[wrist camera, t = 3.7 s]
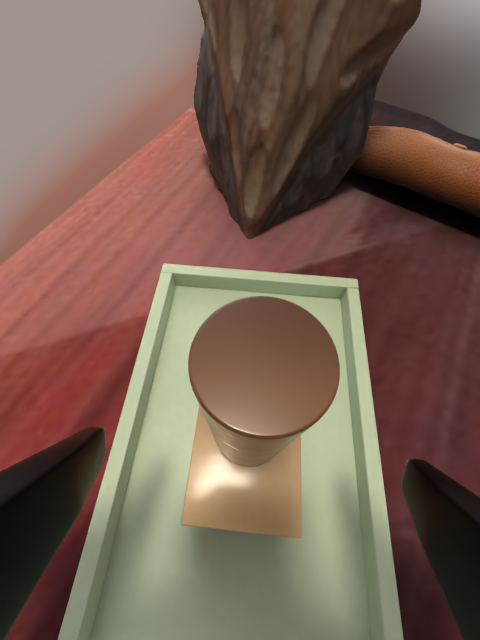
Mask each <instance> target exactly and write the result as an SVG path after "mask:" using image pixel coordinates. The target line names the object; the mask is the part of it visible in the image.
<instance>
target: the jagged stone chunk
mask: <svg viewBox="0 0 480 640" xmlns="http://www.w3.org/2000/svg"><path fill="white" fill-rule="evenodd" d="M198 1H199V4H200V8H201V13H202V17H203V19H204V24H205V30H204V33H203V35H202V37H201V48H200V55H199V60H198V63H197V65H198V67H197V80H196V86H195V91H194V92H195V93H194V107H195V111H196V116H197V119H198V123H199V128H200V132H201V135H202V138H203V141H204V144H205V147H206V150H207V154H208V157H209V161H210V164H209V169H210V172H211V174H212V175H213V177H214V178H215V179H217V181H218V189H219V190H220V191H221V192H222V193H223V194H224V197H225V199H226V200H227V202H228V203H229V212H230V214H231V216H232V217H233V219H234V220H235V221H236V222H237V223H238V224H239V225H240V227H241V229H242V231H243V232H244V234H245V236H246V237H247V238H252V237H254V236H255V235H257V234H258V233H260V232H262V231H264V230H266V229H268V228H269V227H271V226H273V225H275V224H276V223H279V222H282V221H284V220H286V219H287V218H288V217H290V216H291V215H292V214H294V213H296V212H299V211H303V210H306V209H308V208H309V207H310V206H311V205H312V203H313V202H315V201H317V200H322V199H325V198H328V197H330V196H331V195H333V194H334V192H335V190H336V189H337V187H338V183H339V182H340V181H341V179H342V178H343V177H344V176H345V174H346V173H347V172H348V170H349V169H350V168H351V166H352V165H353V164H354V162H355V161H356V160H357V159H358V158H359V156H360V154H361V152H362V151H363V149H364V146H365V141H366V137H367V132H368V129H369V124H370V120H371V115H372V110H373V104H374V98H375V92H376V87H377V83H378V81H379V79H380V77H381V75H382V73H383V70H384V69H385V67H386V64H387V62H388V60H389V58H390V56H391V55H392V54H393V52H394V50H395V49H396V47H397V46H398V44H399V43H400V41H401V39H402V38H403V36H404V35H405V34H406V32H407V31H408V30H409V29H410V28H411V27H412V26H413V24H414V23H415V21H416V19H417V18H418V16H419V14H420V8H421V0H198Z"/></svg>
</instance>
